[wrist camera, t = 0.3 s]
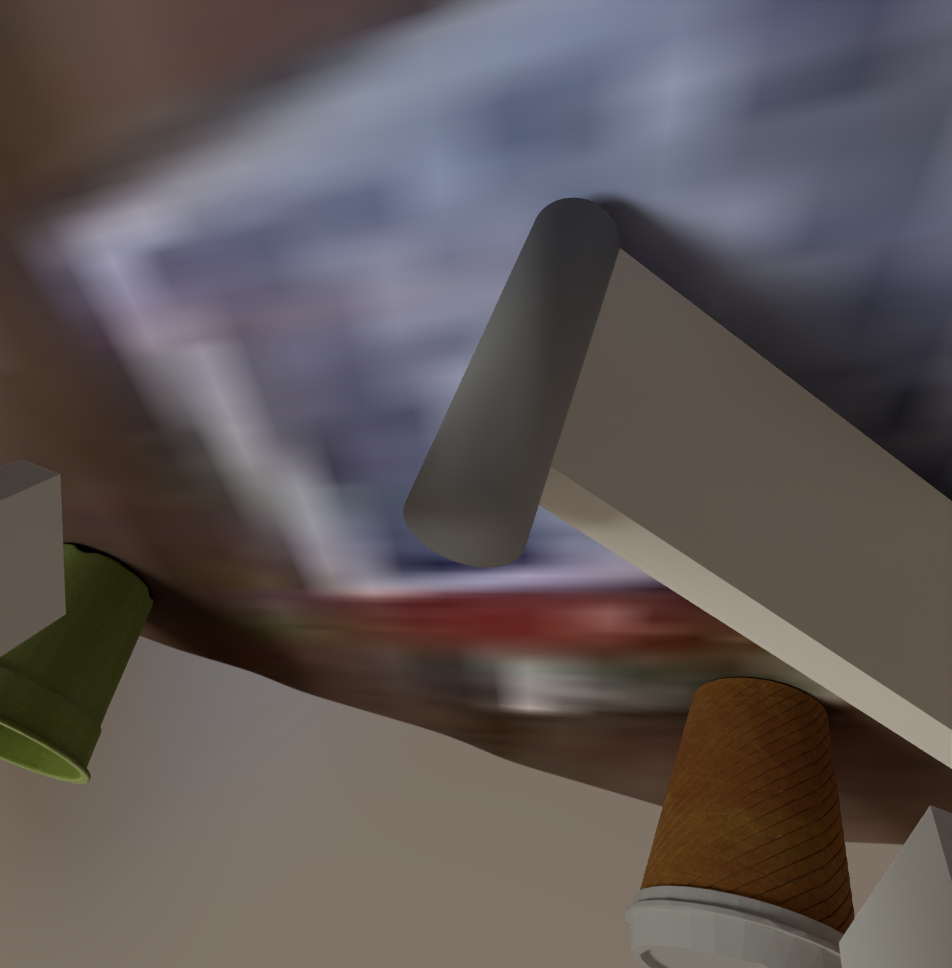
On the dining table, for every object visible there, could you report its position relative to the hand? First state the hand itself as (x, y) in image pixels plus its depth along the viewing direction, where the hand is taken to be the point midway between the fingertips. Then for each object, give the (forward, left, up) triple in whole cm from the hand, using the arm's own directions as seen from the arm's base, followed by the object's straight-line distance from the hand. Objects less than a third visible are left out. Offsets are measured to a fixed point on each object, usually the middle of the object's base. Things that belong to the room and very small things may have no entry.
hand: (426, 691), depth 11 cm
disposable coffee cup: (+26, +9, -15) cm, 31 cm away
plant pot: (+29, -31, -15) cm, 45 cm away
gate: (+5, +6, -14) cm, 16 cm away
